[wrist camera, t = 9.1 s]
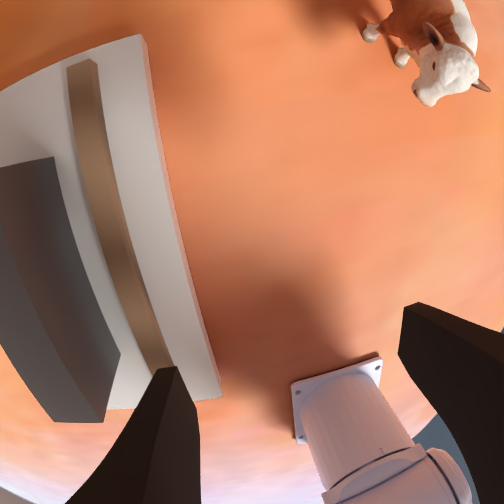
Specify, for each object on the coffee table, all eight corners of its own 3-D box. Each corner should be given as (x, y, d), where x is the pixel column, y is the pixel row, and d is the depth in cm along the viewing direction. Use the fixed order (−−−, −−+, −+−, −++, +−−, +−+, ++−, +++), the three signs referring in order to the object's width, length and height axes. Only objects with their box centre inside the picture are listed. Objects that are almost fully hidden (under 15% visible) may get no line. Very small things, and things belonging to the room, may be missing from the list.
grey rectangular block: (121, 354, 17) (103, 422, 12) (78, 359, 16) (53, 421, 11) (53, 156, 12) (-11, 170, 7) (8, 175, 12) (-57, 197, 7)
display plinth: (220, 377, 21) (224, 409, 18) (61, 393, 20) (51, 420, 17) (147, 44, 13) (135, 25, 10) (-38, 127, 11) (-67, 130, 8)
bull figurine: (348, 107, 16) (444, 97, 8) (341, -60, 11) (400, -117, 3) (406, 119, 16) (506, 125, 9) (395, -40, 12) (463, -80, 4)
